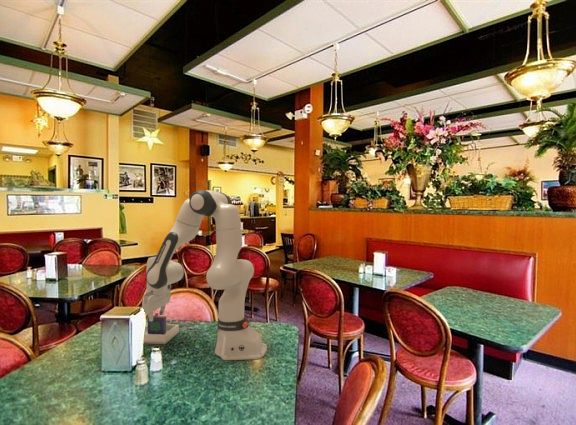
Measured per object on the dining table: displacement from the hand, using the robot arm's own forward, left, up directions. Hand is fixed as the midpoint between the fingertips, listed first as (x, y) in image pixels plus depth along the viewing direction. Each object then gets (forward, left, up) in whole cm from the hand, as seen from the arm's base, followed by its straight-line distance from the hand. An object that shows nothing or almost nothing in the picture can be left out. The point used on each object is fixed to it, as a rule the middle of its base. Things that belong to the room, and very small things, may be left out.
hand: (156, 317), depth 152 cm
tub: (0, 0, -10) cm, 10 cm away
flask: (0, 0, -9) cm, 9 cm away
